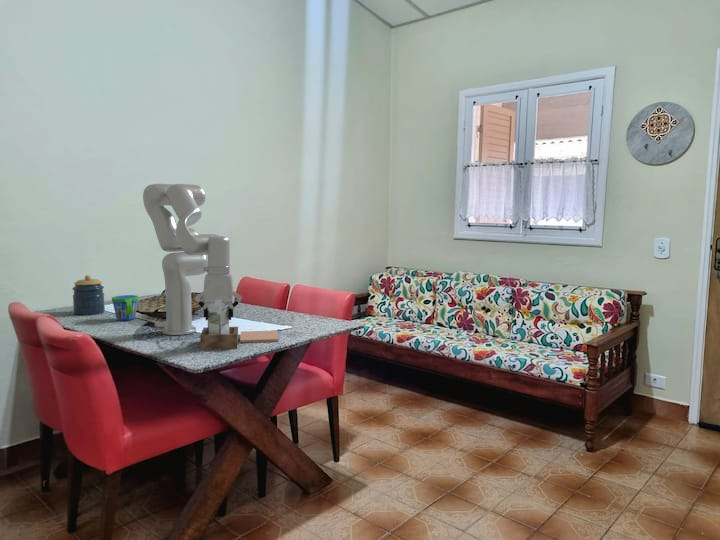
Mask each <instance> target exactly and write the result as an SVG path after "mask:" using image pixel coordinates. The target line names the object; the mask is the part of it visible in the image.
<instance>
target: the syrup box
mask: <svg viewBox="0 0 720 540" xmlns="http://www.w3.org/2000/svg"><path fill="white" fill-rule="evenodd" d="M207 307H208V320H207V327H208V334H229V327H230V320H229V308H230V306H229V305H228V303H223V300H222V299H217V300H215V303H209V304H208V306H207Z"/></svg>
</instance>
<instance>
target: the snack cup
mask: <svg viewBox="0 0 720 540" xmlns="http://www.w3.org/2000/svg"><path fill="white" fill-rule="evenodd" d="M138 301H139V296H138V295H135V294H133V295H132V294H127V295H126V294H125V295H124V294H123V295H117V296H111V303H112V304H113V309H114V314H115V319H116V321H119V322H120V321H121V322H128V321H133V320H135V319H136V315H137V308H138V307H137V306H138Z"/></svg>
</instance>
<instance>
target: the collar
mask: <svg viewBox="0 0 720 540" xmlns="http://www.w3.org/2000/svg"><path fill="white" fill-rule="evenodd" d="M199 337H200V340H199V342H200V344H199V345H200V346H199V347H200V350H224V349H226V350H227V349H238V346H239V345H238V344H239V326H229V334H208V326H207V327H203V329H202V331H201V332H200V335H199Z"/></svg>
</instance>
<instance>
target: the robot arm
mask: <svg viewBox="0 0 720 540" xmlns="http://www.w3.org/2000/svg"><path fill="white" fill-rule="evenodd" d="M142 194H143V195H142V201H143V206H144V208H145V211H146V212H147V215H148V217H149V218H150V220H151V222H152V225H153V228H154V231H155V234H156V238H157V240H158V243H159V244H158V245H159V247H160V248H161V249H162V251H165V252H168V254H165V256H163V258H162V260H161V267H162V271H163V276H164V278H163V279H164V286H165V287H164V289H165V312H166V313H165V316H166V318H165V319H166V320H165V321H164V320H163V322H160V321H155V322H154V327H155V328H157V329H161V328H162V329H161V330H162V331H161V332H162V334H164V335H168V336H184V335H189V334H193V333H196V331H197V327H195V326H193V325H192V324H193V321H192V320H193V318H192V315H193V311H192V287H191V284H190V282H189V281H188V280H187V278H186V277H188V276H189V277H190V276H200V275H204V274H205V273H206V274H205V276H204V281H203V291H202V292H200V293H199V294H197V295H196V296H195V297H194V300H195V301H196V303H197V304H198V305H199V306H200V307H201V308H202V309H203V318H205V321H208V304H209V303H215V300H217V299H222V300H223V303H228V305H229V321H232V318H234V308H236V307H237V306H238V305H239V303H240V302H241V301H242V299H243V297H242V295H240V294H238V293H237V292H236V291H234V283H233V276H232V274H231V273H230V257H231V255H230V249H231V248H230V246H231V245H230V244H231V243H230V239H229V237H227V236H222V235H221V236H220V235H218V234H211V233H210V234H207V233H206V234H205V233H204V234H199V233H198V231H196V230H195V229H194V228H192V227H191V226H192V225H195V224H197V222H199V221H200V219H201V218H202V213H203V212H202V211H201V209H200V207H201V206H203V205H204V204H205V201H206V193H205V191H204V189H203V188H202V187H201V186H200V185H197V184H190V183H189V184H188V183H187V184H186V183H175V184H170V183H168V184H167V183H152V184H149V185H147V186H146V187H145V188H144V189H143V193H142ZM165 206H169V207H170V206H171V207H172V210H173V211H174V213H175V215H176V216H177V218H178V221H177V222H176V219H175V218H176V217H175V216H174V215H173V213H172V211H170V210H169V209H167V208H166V207H165ZM234 297H235V298H236V300H235V301H234ZM201 298H203V301H202V300H201Z"/></svg>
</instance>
